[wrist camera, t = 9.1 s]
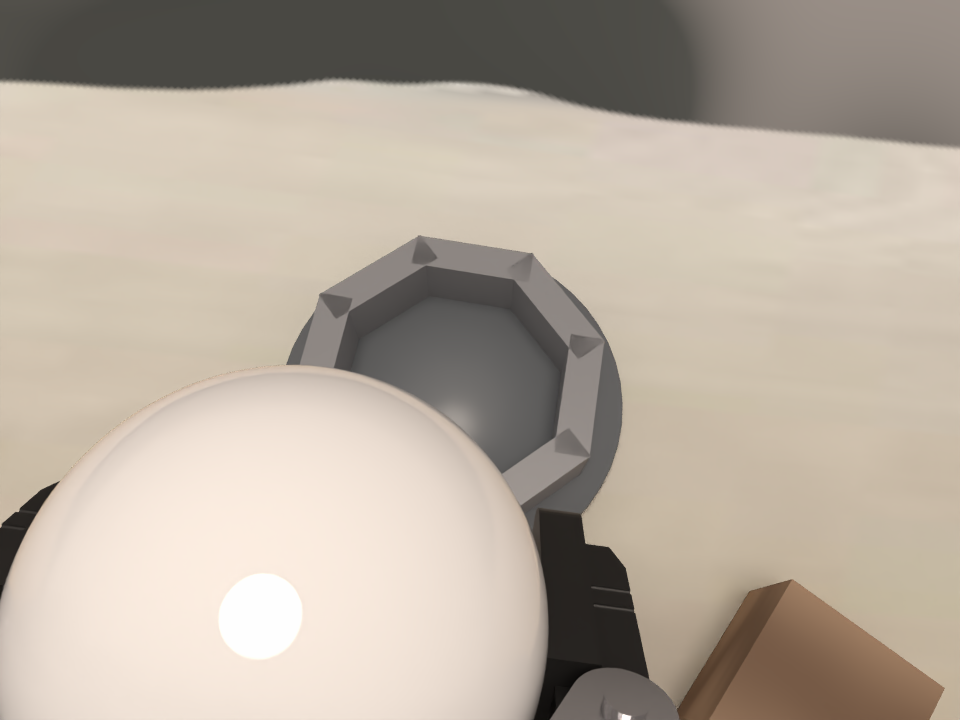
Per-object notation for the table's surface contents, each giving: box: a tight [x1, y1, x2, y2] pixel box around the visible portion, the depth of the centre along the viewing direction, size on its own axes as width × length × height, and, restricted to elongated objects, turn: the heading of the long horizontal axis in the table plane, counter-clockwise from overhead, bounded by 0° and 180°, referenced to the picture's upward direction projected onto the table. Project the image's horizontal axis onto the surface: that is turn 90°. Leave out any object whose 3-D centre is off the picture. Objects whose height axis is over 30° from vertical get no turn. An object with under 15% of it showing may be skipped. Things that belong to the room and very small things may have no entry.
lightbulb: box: [0, 365, 549, 720], centre depth 12 cm, size 6×6×11 cm
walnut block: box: [677, 579, 945, 720], centre depth 24 cm, size 5×5×4 cm
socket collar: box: [286, 235, 622, 530], centre depth 28 cm, size 13×13×3 cm
